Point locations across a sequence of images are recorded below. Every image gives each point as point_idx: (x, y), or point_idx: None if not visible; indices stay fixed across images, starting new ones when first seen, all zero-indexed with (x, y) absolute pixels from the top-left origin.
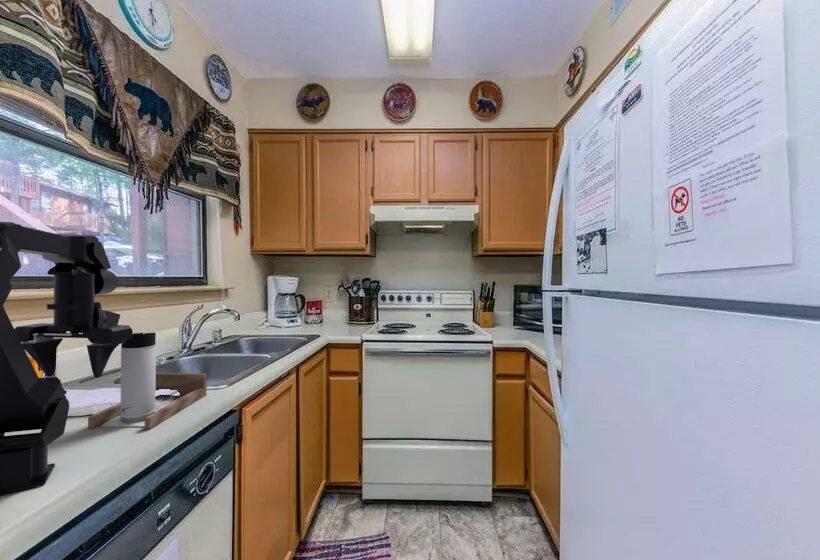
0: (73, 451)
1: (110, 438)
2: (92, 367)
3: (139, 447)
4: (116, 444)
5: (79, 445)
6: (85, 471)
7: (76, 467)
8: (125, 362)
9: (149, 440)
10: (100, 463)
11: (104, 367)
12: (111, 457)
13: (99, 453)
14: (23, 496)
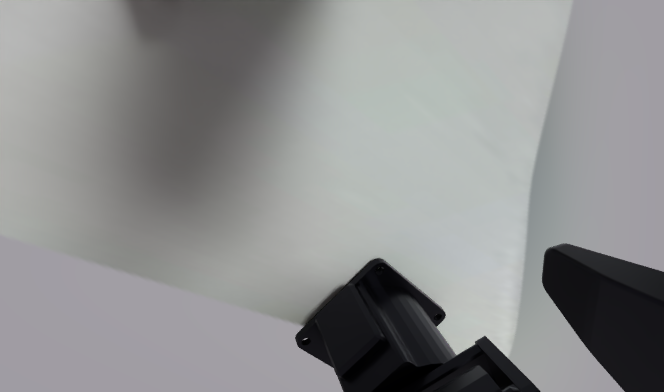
0: (333, 177)
1: (373, 57)
2: (637, 390)
3: (538, 90)
4: (441, 94)
5: (306, 139)
6: (484, 240)
7: (442, 236)
8: None
9: (540, 34)
10: (491, 201)
11: (653, 275)
12: (496, 168)
13: (437, 161)
14: None
